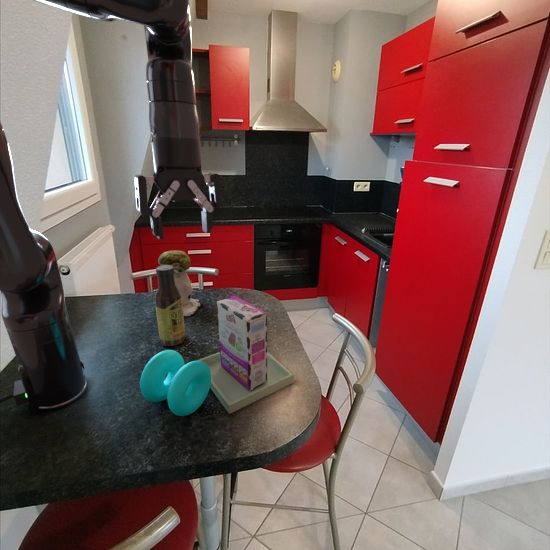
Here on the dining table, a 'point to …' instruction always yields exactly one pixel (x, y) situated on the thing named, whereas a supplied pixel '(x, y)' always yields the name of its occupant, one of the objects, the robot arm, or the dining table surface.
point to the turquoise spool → (176, 382)
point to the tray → (235, 392)
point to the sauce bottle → (169, 308)
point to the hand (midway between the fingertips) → (184, 235)
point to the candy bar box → (243, 341)
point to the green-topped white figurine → (181, 278)
